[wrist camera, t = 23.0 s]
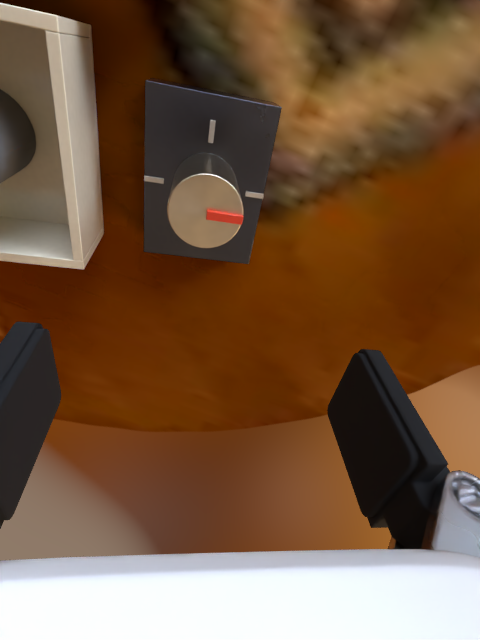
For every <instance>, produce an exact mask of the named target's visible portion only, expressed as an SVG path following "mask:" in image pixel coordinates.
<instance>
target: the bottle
mask: <svg viewBox="0 0 480 640" xmlns="http://www.w3.org/2000/svg"><path fill="white" fill-rule="evenodd" d="M35 150H36V136H35V132H34V129H33V126H32V123H31V122H30V120H29V118H28V116H27V114H26V113H25V111H24V110H23V109H22V107H21V106H20V105H19V104H18V103H17V102H16V101H15V100H14V99H13V98H12V97H11V96H10V95H9V94H7V93H6V92H4V91H2V90H1V89H0V183H2V182H4V181H5V180H7V179H8V178H10V177H11V176H13V175H15V174H16V173H18V172H19V171H21V170H22V169H23V168H25V167H26V166H27V165H28V164H29V163H30V162H31V160H32V158H33V156H34V154H35Z"/></svg>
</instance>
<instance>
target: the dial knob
mask: <svg viewBox="0 0 480 640" xmlns="http://www.w3.org/2000/svg"><path fill="white" fill-rule="evenodd" d="M167 214H168V219H169V223H170V225H171V227H172V229H173V230H174V232H175V233H176V234H177V235H178V236H179V237H180V238H181V239H182V240H183V241H185V242H186V243H188V244H190V245H192V246H195V247H200V248H213V247H218V246H220V245H223V244H225V243H226V242H228V241H229V240H231V239H232V238H233V237H234V236H235V235H236V233H237V232H238V230H239V228H240V226H241V225H242V222H243V214H244V209H243V203H242V199H241V195H240V192H239V188H238V184H237V180H236V177H235V174H234V172H233V170H232V168H231V167H230V166H229V164H228V163H227V162H226V161H224V160H223V159H222V158H220V157H218V156H216V155H213V154H208V153H200V154H195V155H192V156H190V157H188V158H187V159H185V160H184V161H183V162H182V163H181V164H180V165H179V167H178V169H177V170H176V173H175V176H174V179H173V183H172V187H171V192H170V196H169V200H168V205H167Z"/></svg>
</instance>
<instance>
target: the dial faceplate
mask: <svg viewBox="0 0 480 640" xmlns="http://www.w3.org/2000/svg"><path fill="white" fill-rule="evenodd" d="M280 113H281V107H280V106H279V105H277V104H276V103H274V102H269V101H264V100H259V99H254V98H249V97H244V96H239V95H234V94H229V93H224V92H219V91H215V90H210V89H205V88H200V87H195V86H190V85H185V84H180V83H175V82H170V81H165V80H160V79H155V78H150V79H148V80H146V81H145V173H144V252H151V253H160V254H168V255H177V256H185V257H194V258H202V259H211V260H219V261H227V262H236V263H244V264H249V260H250V255H251V251H252V246H253V241H254V236H255V232H256V227H257V222H258V217H259V213H260V208H261V203H262V199H263V196H264V189H265V184H266V180H267V175H268V170H269V165H270V161H271V156H272V151H273V146H274V142H275V137H276V132H277V127H278V123H279V118H280ZM200 153H208V154H213V155H216V156H218V157H220V158H222V159H223V160H224V161H226V162H227V163H228V164H229V166H230V167H231V168H232V170H233V172H234V174H235V177H236V180H237V184H238V188H239V192H240V195H241V199H242V203H243V209H244V214H243V222H242V225H241V226H240V228H239V230H238V232H237V233H236V235H235V236H234V237H233V238H232V239H231V240H229V241H228V242H226V243H225V244H223V245H220V246H218V247H213V248H200V247H195V246H192V245H190V244H188V243H186V242H185V241H183V240H182V239H181V238H180V237H179V236H178V235H177V234H176V233H175V232H174V230H173V229H172V227H171V225H170V223H169V219H168V214H167V205H168V200H169V196H170V192H171V187H172V183H173V179H174V176H175V173H176V170H177V169H178V167H179V165H180V164H181V163H182V162H183V161H184V160H185V159H187V158H188V157H190V156H192V155H195V154H200Z"/></svg>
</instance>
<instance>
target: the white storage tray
mask: <svg viewBox="0 0 480 640" xmlns="http://www.w3.org/2000/svg"><path fill="white" fill-rule="evenodd" d="M0 89H1V90H2V91H4V92H6V93H7V94H9V95H10V96H11V97H12V98H13V99H14V100H15V101H16V102H17V103H18V104H19V105H20V106H21V107H22V109H23V110H24V111H25V113H26V114H27V116H28V118H29V120H30V122H31V123H32V126H33V129H34V132H35V136H36V150H35V154H34V156H33V158H32V160H31V162H30V163H29V164H28V165H27V166H26V167H25V168H23V169H22V170H21V171H19V172H18V173H16V174H15V175H13V176H11V177H10V178H8V179H7V180H5V181H4V182H2V183H0V261H7V262H17V263H26V264H36V265H45V266H55V267H64V268H73V269H83V270H84V268H85V267H86V265H87V263H88V261H89V259H90V258H91V256H92V254H93V252H94V251H95V249H96V247H97V245H98V243H99V242H100V240H101V238H102V236H103V234H104V223H103V207H102V191H101V175H100V159H99V142H98V126H97V110H96V94H95V78H94V62H93V45H92V29H91V25H90V24H87V23H84V22H80V21H76V20H73V19H69V18H65V17H62V16H58V15H54V14H50V13H45V12H41V11H36V10H32V9H27V8H23V7H18V6H14V5H9V4H4V3H0Z"/></svg>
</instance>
